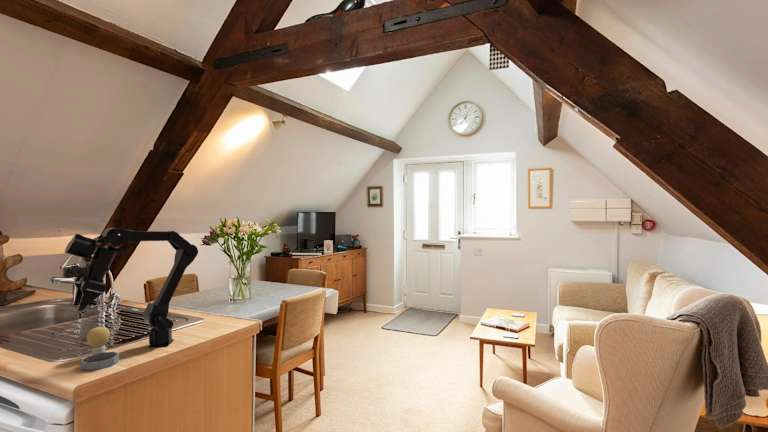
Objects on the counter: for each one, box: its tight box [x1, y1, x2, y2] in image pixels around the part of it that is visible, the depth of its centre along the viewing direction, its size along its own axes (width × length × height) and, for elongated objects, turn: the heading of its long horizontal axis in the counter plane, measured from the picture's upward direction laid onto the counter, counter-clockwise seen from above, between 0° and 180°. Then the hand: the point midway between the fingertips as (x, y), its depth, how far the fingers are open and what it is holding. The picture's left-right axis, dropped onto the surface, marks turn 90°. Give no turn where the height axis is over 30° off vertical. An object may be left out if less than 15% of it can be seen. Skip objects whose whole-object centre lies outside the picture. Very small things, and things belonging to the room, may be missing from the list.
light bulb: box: [86, 326, 111, 355], centre depth 131 cm, size 6×6×10 cm
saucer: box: [79, 351, 120, 371], centre depth 124 cm, size 10×10×2 cm
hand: (77, 308), depth 124 cm, fingers open, 9 cm apart
